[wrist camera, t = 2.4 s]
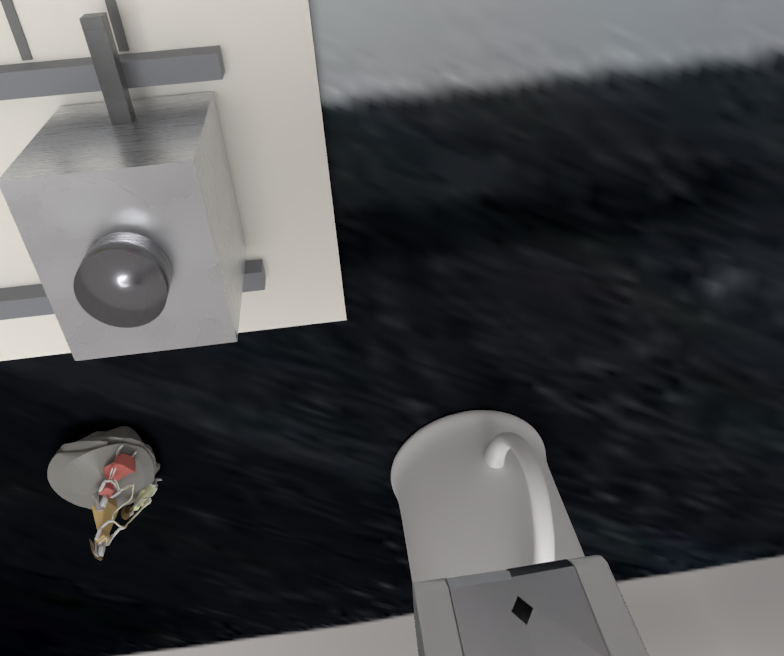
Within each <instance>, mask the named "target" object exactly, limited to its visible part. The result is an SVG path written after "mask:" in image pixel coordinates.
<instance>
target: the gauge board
mask: <svg viewBox="0 0 784 656" xmlns="http://www.w3.org/2000/svg"><path fill="white" fill-rule="evenodd" d="M102 12H106V13H107V17H108V20H109V24H110V27H111V31H112V34H113V38H114V41H115V45H116V48H117V52H118V55H119V59H120V62H121V66H122V69H123V73H124V76H125V80H126V83H127V87H128V90H129V94H130V97H131V99H140V98H150V97H161V96H171V95H182V94H192V93H203V92H214V97H215V101H216V106H217V111H218V116H219V120H220V125H221V130H222V134H223V139H224V144H225V149H226V153H227V158H228V163H229V167H230V172H231V177H232V182H233V186H234V191H235V196H236V200H237V205H238V210H239V215H240V219H241V224H242V229H243V234H244V238H245V243H246V248H247V250H246V260H245V270H244V279H243V289H242V299H241V309H240V319H239V329H238V333H241V332H250V331H258V330H267V329H275V328H284V327H292V326H300V325H309V324H317V323H326V322H334V321H343V320H347V319H346V310H345V302H344V294H343V285H342V277H341V269H340V260H339V252H338V244H337V235H336V227H335V219H334V210H333V202H332V194H331V185H330V177H329V169H328V160H327V152H326V144H325V135H324V127H323V118H322V110H321V102H320V93H319V85H318V77H317V68H316V60H315V52H314V43H313V35H312V27H311V18H310V10H309V2H308V0H0V177H1V176H2V174H3V173H4V172H5V171H6V170H7V168H8V167H9V166H10V165H11V164H12V163H13V161H14V160H15V159H16V158H17V157H18V155H19V154H20V153H21V152H22V151H23V149H24V148H25V147H26V146H27V145H28V144H29V142H30V141H31V140H32V139H33V138H34V136H35V135H36V134H37V133H38V132H39V131H40V129H41V128H42V127H43V126H44V125H45V123H46V122H47V121H48V120H49V119H50V118H51V116H52V115H53V114H54V113H55V112H56V110H57V109H58V108H59V107H60V106H66V105H77V104H87V103H98V102H105V100H104V97H103V94H102V91H101V87H100V84H99V81H98V78H97V74H96V71H95V68H94V65H93V61H92V58H91V55H90V52H89V49H88V45H87V42H86V39H85V36H84V32H83V29H82V26H81V23H80V19H79V18H81V17H82V16H83V15H84V14H91V13H102ZM64 353H71V350H70V348H69V346H68V343H67V341H66V339H65V336H64V334H63V332H62V330H61V327H60V325H59V323H58V320H57V318H56V316H55V313H54V311H53V309H52V306H51V304H50V302H49V300H48V297H47V295H46V293H45V290H44V288H43V286H42V283H41V281H40V279H39V276H38V274H37V272H36V270H35V267H34V265H33V263H32V260H31V258H30V256H29V253H28V251H27V249H26V247H25V244H24V242H23V240H22V237H21V235H20V233H19V230H18V228H17V226H16V223H15V221H14V219H13V217H12V214H11V212H10V210H9V207H8V205H7V203H6V200H5V198H4V196H3V194H2V191H1V189H0V361H5V360H14V359H22V358H31V357H39V356H47V355H56V354H64Z"/></svg>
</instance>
